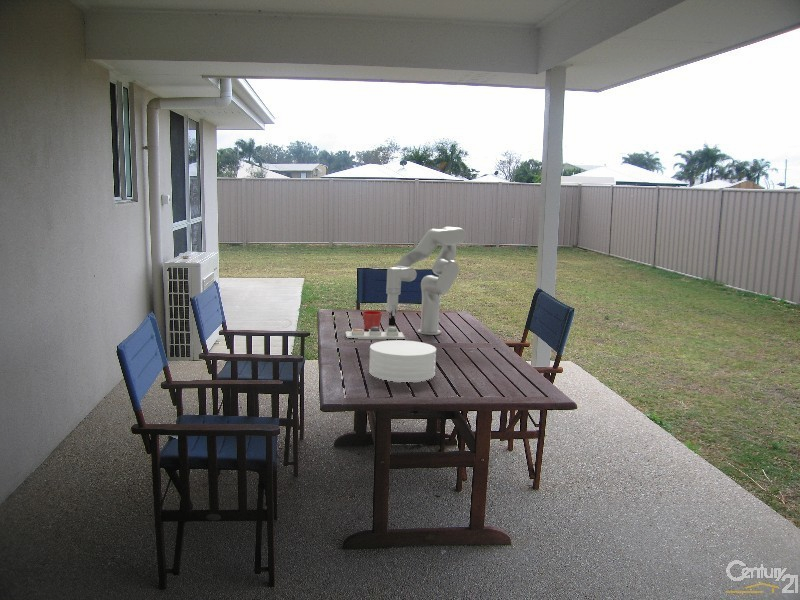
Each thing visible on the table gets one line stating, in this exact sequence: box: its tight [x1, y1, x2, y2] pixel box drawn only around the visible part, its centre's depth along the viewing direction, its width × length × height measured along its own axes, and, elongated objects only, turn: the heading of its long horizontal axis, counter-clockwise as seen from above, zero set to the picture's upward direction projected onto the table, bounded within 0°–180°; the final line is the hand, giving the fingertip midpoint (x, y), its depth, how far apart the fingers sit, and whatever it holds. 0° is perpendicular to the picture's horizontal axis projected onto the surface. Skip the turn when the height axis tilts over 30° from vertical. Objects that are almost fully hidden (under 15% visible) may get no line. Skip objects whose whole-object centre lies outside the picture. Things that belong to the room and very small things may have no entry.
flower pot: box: [362, 310, 383, 331], centre depth 384 cm, size 11×11×10 cm
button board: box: [345, 328, 406, 340], centre depth 366 cm, size 12×30×4 cm, turn 97°
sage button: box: [387, 326, 397, 332], centre depth 367 cm, size 4×4×2 cm
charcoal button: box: [371, 326, 380, 331], centre depth 366 cm, size 4×4×2 cm
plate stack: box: [368, 339, 437, 384], centre depth 296 cm, size 28×28×12 cm
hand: (391, 325), depth 367 cm, fingers closed
